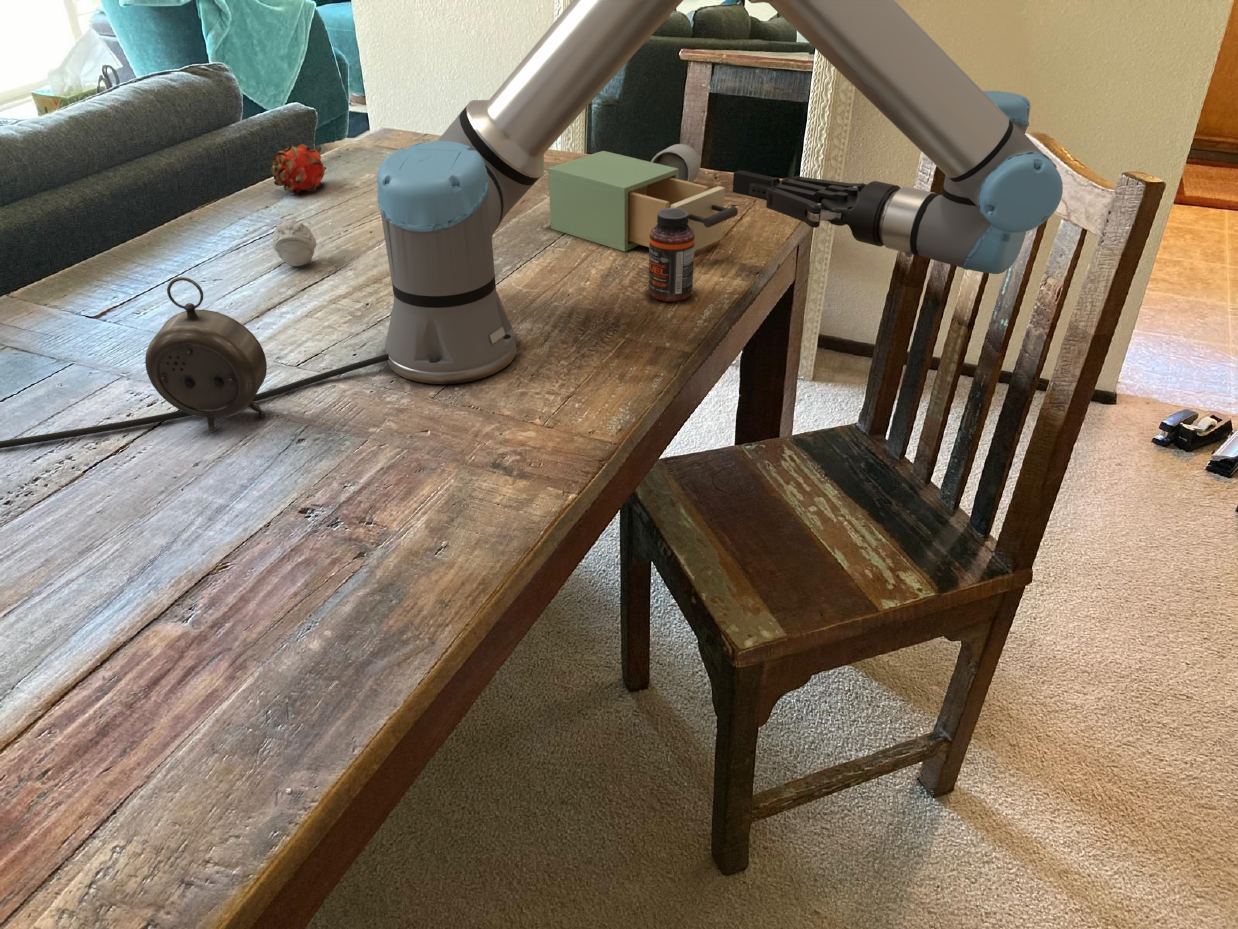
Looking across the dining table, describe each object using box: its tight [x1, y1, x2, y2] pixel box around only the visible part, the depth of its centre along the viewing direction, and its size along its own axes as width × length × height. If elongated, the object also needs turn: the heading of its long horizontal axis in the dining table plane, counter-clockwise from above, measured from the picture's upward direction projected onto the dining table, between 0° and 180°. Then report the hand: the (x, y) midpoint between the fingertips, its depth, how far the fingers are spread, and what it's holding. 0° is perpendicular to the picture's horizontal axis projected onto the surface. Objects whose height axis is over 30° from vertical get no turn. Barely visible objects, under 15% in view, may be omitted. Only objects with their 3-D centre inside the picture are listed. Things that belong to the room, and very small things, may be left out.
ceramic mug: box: [650, 143, 701, 183], centre depth 162 cm, size 11×8×8 cm
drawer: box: [628, 177, 739, 252], centre depth 138 cm, size 19×11×8 cm, turn 49°
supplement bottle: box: [648, 208, 695, 303], centre depth 122 cm, size 6×6×11 cm
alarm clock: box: [144, 276, 268, 433], centre depth 94 cm, size 11×5×16 cm, turn 90°
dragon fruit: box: [269, 143, 327, 195], centre depth 163 cm, size 8×8×12 cm
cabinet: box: [547, 150, 679, 252], centre depth 144 cm, size 16×13×10 cm
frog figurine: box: [271, 218, 317, 267], centre depth 133 cm, size 6×7×7 cm
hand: (736, 180), depth 128 cm, fingers closed
